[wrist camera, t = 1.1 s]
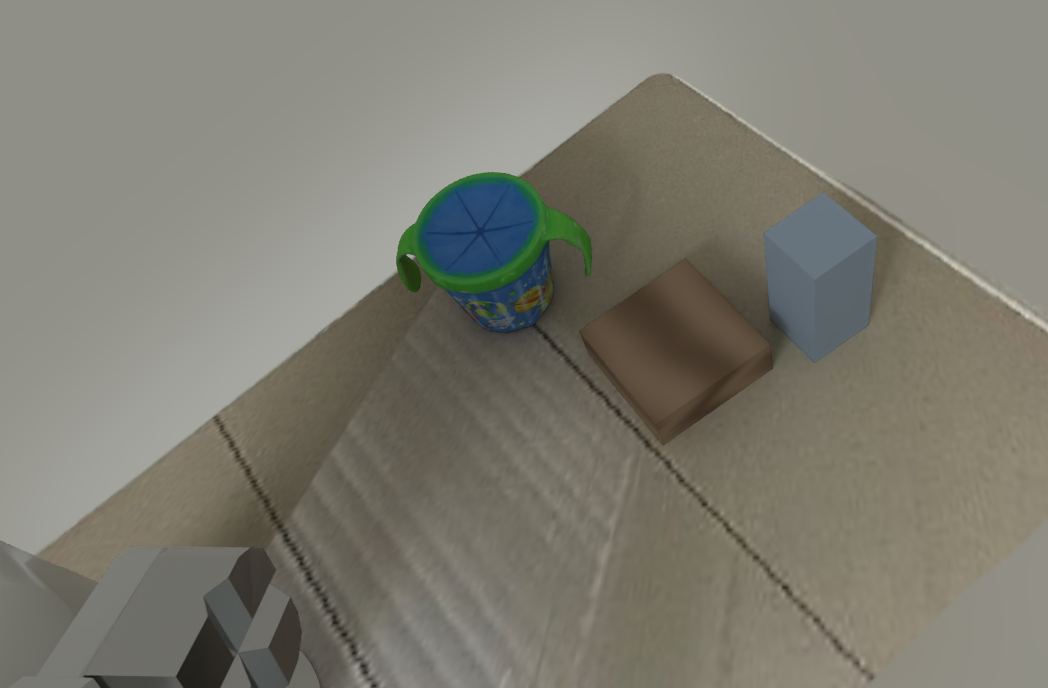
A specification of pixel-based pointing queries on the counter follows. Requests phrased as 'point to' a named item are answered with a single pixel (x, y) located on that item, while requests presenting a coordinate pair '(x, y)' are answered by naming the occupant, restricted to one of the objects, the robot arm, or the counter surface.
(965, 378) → the counter surface
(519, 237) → the snack cup
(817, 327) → the pillar
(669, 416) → the walnut base
